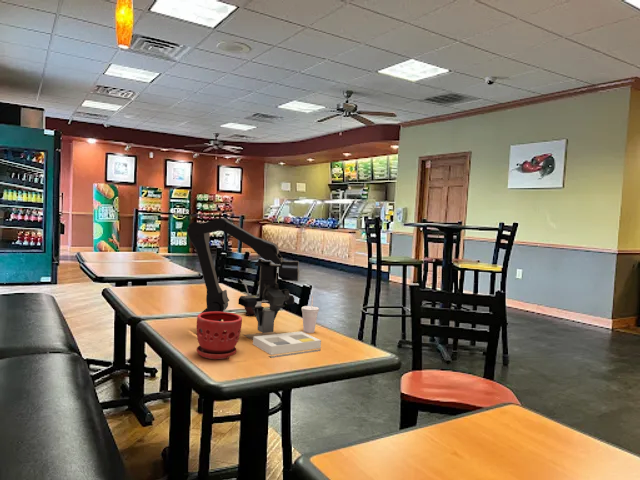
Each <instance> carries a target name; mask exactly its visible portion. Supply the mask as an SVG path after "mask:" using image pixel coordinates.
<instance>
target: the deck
mask: <svg viewBox="0 0 640 480" xmlns="http://www.w3.org/2000/svg"><path fill="white" fill-rule="evenodd" d="M272 334H279V333H278V332H276V331H273V332H268V333H262V332H257V333H249V334H248V333H247V334H243V336H244V337H246V338H247V339H250V341H253V337H254V336H263V335H272Z"/></svg>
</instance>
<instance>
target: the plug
mask: <svg viewBox="0 0 640 480" xmlns="http://www.w3.org/2000/svg"><path fill="white" fill-rule="evenodd" d="M274 313H275V311H272V310H270V308H263V310H262V324H261V326H259V324H258V323H257V331H258V332H259V333H268V332H275V329H274V327H275V326H274V325H275V320H274Z"/></svg>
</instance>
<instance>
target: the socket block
mask: <svg viewBox="0 0 640 480" xmlns="http://www.w3.org/2000/svg"><path fill="white" fill-rule="evenodd" d="M252 345H253V346H254V347H256V348H258V349H260V350H262V351H263V352H265V353H267V354H269V355H270V356H268V358H270V359H274V358H280V357H288V356H295V355H303V354H308V353H309V354H310V353H315V352H321V348H322V347H321V345H322V340H321V339H319V338H317V337H314V336H313V335H311V334H309V333H306V332H304V331H302V330H301V331H293V332H285V333H284V332H282V333H278V334H272V335H263V336H254V337H253V340H252Z"/></svg>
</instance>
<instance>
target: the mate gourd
mask: <svg viewBox="0 0 640 480" xmlns="http://www.w3.org/2000/svg"><path fill="white" fill-rule="evenodd" d="M239 281H240V282H241V283H242V284H243V285H244V288H245V290H246V293H247V295H246V296H249V295H250V296H253V297H255V298H259V297H257V294H255V295H254V294H249V290H248V285H247V283H245V281H244V280H242V279H239ZM243 307H244V306H243ZM244 310H245V316H246V317H250V316H251V317H256V316H255V313H254V311H253V309H252V307H244Z"/></svg>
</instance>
